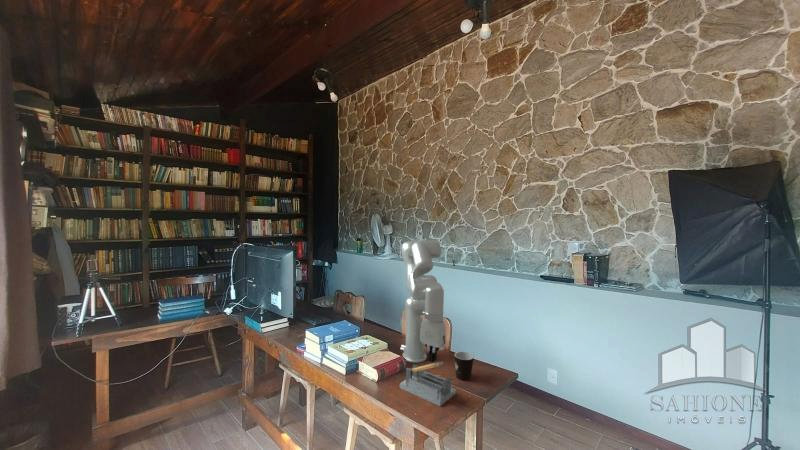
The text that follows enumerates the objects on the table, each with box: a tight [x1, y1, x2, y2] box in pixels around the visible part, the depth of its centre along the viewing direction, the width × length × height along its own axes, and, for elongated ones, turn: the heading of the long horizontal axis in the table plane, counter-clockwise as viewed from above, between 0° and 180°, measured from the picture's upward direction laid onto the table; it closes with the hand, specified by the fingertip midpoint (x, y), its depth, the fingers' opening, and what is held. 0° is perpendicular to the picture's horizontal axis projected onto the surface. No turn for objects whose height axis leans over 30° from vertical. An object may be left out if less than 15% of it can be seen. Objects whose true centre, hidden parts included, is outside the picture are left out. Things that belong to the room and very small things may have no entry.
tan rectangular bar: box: [411, 360, 444, 374], centre depth 139 cm, size 17×3×2 cm, turn 51°
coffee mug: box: [454, 351, 475, 382], centre depth 152 cm, size 12×9×10 cm
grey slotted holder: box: [399, 363, 457, 407], centre depth 138 cm, size 20×12×8 cm, turn 51°
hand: (432, 360), depth 136 cm, fingers closed
